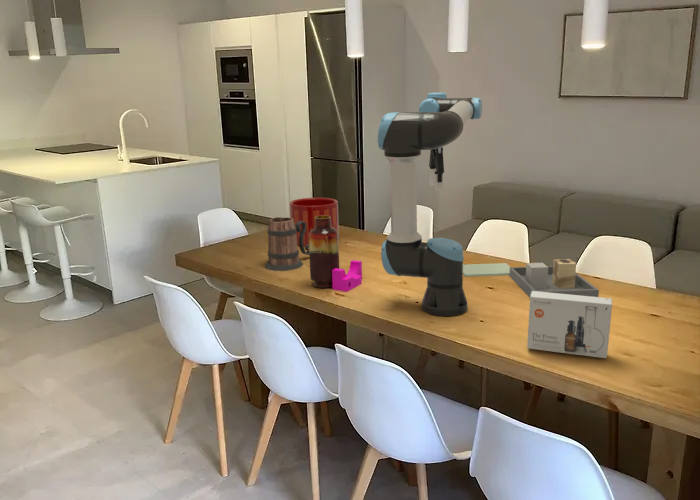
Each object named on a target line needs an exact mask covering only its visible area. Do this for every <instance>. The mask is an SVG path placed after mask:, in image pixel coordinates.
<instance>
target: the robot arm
mask: <svg viewBox="0 0 700 500" xmlns="http://www.w3.org/2000/svg"><path fill="white" fill-rule="evenodd" d="M482 113H483V101H482V99H481V98H480V97H473V96H472V97H456V98H452V97H450V98H449V97H448V95H447V93H446V92H429V93H428V94H427V97H426V99H424V100H422V101H421V103H420V105H419V107H418V111H395V112H394V111H393V112H388V113H386V114H384V115H383V116H382V118H381V120H380V123H379V126H378V130H377V131H378V132H377V144H378V148H379V149H380V150H381V151H383V152H384V157H385V158H386V159H387V160H388V163H389V165H388V166H389V197H390V198H389V199H390V203H389V204H390V233H389V234H388V235H386V240H384V241H383V242H382V244H381V252H380V256H381V257H380V259H381V263H382V266H383V269H384V271H385V272H386V274H388V275H391V276H392V275H393V276H397V277H411V278H426V280H427V282H426V283H427V284H426V288H425V291H424V294H423V298H422V300H421V309H422V311H423V312H425V313H427V314H429V315H433V316H438V317H439V316H441V317H453V316H458V315H462V314H465V313H467V311H468V299H467V297H466V294H465V290H464V286H463V285H464V284H463V281H464V279H463V277H464V275H463V265H464V260H465V259H464V257H465V256H464V248H463V245H462V244H460V242H458V241H456V240H454V239H451V238H450V239H449V238H445V237H431V238H429V239H428V240H427V242H423V239H422V235H421V233H419V232H418V216H417V215H418V212H417V211H418V207H417V206H418V203H417V202H418V201H417V196H418V195H417V192H418V191H417V160H418V159H419V158H420V157H421V155H422V151H428V150H429V151H430V152H429V163H428V166H429V167H428V168H429V186H435V192H439V191H441V192H442V191H444V173H445V166H444V164H445V163H444V148H443V147H444V146H448V145H450V144H451V143H453V142H455V141H456V140H457V139H458V138H459V137H460V136H461V134H462V133H463V130H464V126H465V125H466V124H467V123H468V122H469V121H470V120H473V121H474V120H479V119H481V117H482V115H483V114H482Z"/></svg>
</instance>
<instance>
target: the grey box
mask: <svg viewBox="0 0 700 500" xmlns="http://www.w3.org/2000/svg"><path fill="white" fill-rule="evenodd" d="M525 264H526V266H525V267H526V281H527V282H528V283H529V284H530V285H531V286H532V287H533V288H534V289H547V281H548V267H547V266H548V265H546V264H545V263H544V262H526V263H525Z"/></svg>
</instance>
